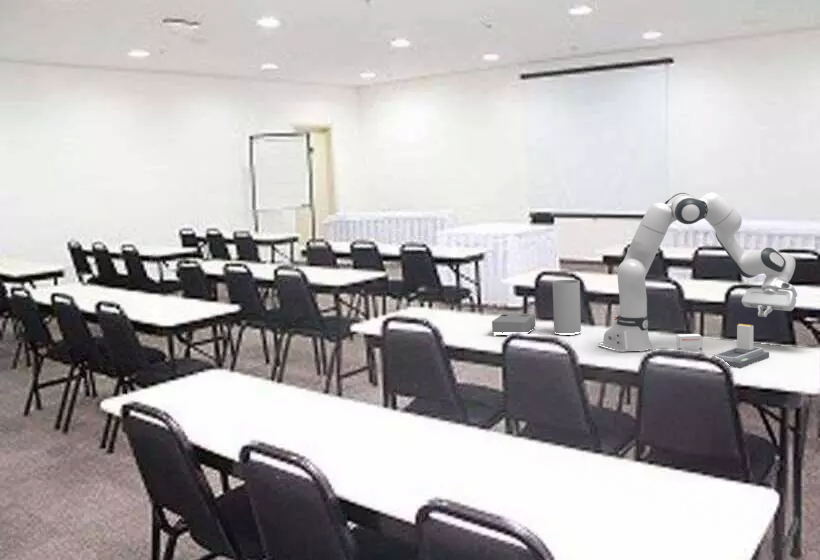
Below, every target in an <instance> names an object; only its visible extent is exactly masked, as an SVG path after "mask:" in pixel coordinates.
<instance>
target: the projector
mask: <svg viewBox="0 0 820 560" xmlns="http://www.w3.org/2000/svg"><path fill="white" fill-rule="evenodd" d="M534 327H535V328H536V314H535V313H513V312H512V313H509V312H508V313H506V312H505V313H502V314H500V316H498V317H496V318H495V319H493V320H492V321H491V328H492V332H502V333H503V332H529V331H530V330H532V329H533V328H534ZM532 331H533V330H532Z"/></svg>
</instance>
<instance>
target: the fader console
mask: <svg viewBox="0 0 820 560" xmlns="http://www.w3.org/2000/svg"><path fill="white" fill-rule="evenodd" d="M736 347H737V346H735V347H732V348H731V347H730V348H729V349H726V350H722V351H721V352H717V353H714V354H713V355H714V356H717V357H719V358H721V359H723V360H724V361H725V362H727V363H728V364H729V365H730V366H733V367H732V368H736V367H738V368H737V369H742V368H745V367H747V366H750V365H753V364H755V363H758V362H761V361H762V360H766V359H768V357H769V358H770V351H764V349H765V348H763V347H758V346H753V348H755V350H754V351H751V352H748V353H740V352H735V348H736ZM765 358H766V359H765ZM760 360H761V361H760ZM757 361H758V362H757ZM754 362H755V363H754ZM752 363H753V364H752ZM749 364H750V365H749ZM730 366H729V367H730ZM744 366H745V367H744Z"/></svg>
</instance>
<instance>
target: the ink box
mask: <svg viewBox="0 0 820 560" xmlns="http://www.w3.org/2000/svg"><path fill="white" fill-rule="evenodd" d="M675 339H676V341H675V342H676V351H677V350H681V351H691V352H699V353H702V354H703V336H702V335H701V334H700V333H688V334H685V333H683V334H681V333H680V334H676V338H675Z"/></svg>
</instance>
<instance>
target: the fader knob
mask: <svg viewBox="0 0 820 560" xmlns="http://www.w3.org/2000/svg"><path fill="white" fill-rule="evenodd" d="M736 330H737V331H736V333H737V334H736V346H735V347H736V348H735V352H740V353H748V352H751V351H754V350H755V348H753V347H754V325H753V324H744V323H738V324H736Z"/></svg>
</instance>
